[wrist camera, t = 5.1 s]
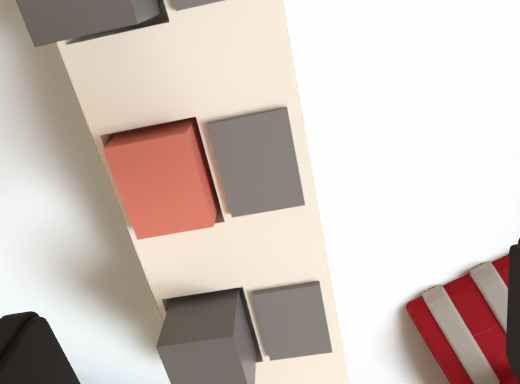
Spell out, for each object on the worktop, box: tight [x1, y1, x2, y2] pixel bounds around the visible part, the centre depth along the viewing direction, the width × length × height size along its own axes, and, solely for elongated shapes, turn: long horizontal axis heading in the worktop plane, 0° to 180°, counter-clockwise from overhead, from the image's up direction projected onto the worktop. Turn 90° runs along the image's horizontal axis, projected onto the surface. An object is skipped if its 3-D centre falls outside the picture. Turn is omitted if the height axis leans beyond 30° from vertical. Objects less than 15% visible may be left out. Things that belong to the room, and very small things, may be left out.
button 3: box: [156, 288, 256, 384], centre depth 21 cm, size 4×3×3 cm
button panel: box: [56, 0, 349, 384], centre depth 18 cm, size 32×8×4 cm, turn 12°
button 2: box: [103, 117, 219, 240], centre depth 19 cm, size 4×3×3 cm
